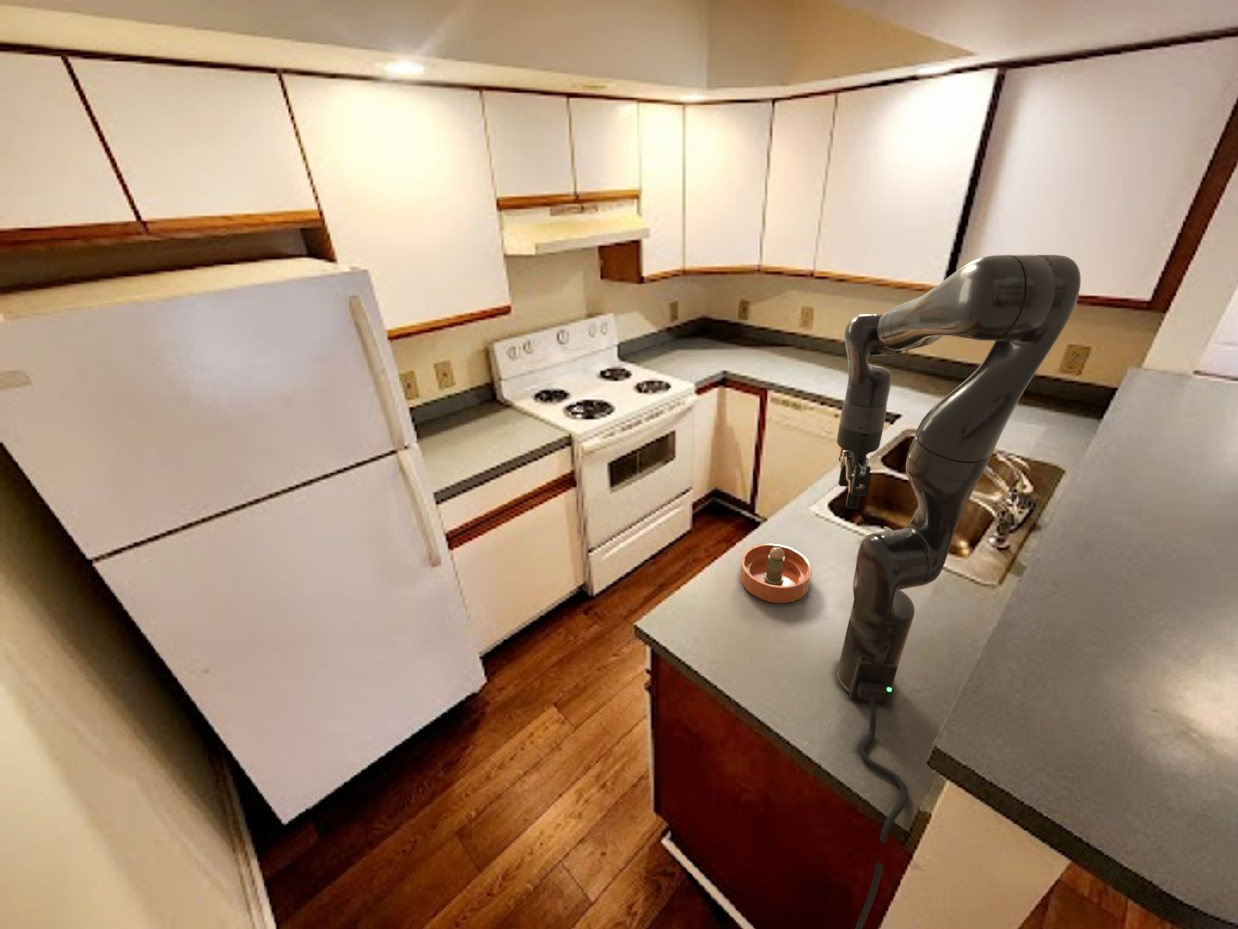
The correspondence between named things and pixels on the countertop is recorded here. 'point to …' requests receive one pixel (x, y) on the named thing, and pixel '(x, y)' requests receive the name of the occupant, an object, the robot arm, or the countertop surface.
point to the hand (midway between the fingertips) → (847, 496)
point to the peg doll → (775, 567)
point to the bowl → (793, 572)
